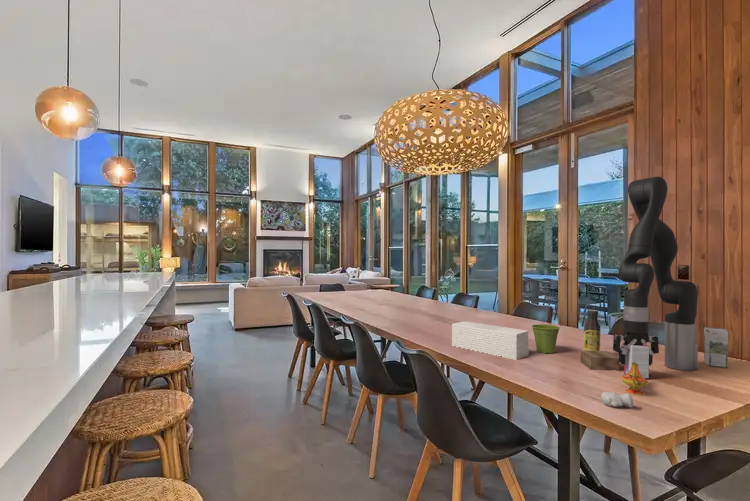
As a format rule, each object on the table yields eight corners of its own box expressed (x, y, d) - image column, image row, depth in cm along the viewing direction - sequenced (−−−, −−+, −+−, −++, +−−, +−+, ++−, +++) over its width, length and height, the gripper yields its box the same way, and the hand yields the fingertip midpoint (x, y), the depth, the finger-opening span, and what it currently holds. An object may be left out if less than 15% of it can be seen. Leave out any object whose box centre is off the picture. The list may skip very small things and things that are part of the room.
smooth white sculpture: (600, 409, 113) (601, 399, 117) (633, 415, 108) (633, 404, 112) (600, 397, 112) (600, 386, 116) (633, 402, 107) (633, 391, 111)
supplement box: (649, 379, 135) (649, 346, 135) (630, 378, 136) (630, 346, 136) (641, 374, 141) (641, 343, 141) (623, 373, 142) (623, 342, 142)
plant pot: (561, 350, 175) (561, 325, 175) (558, 356, 165) (558, 330, 165) (533, 347, 181) (533, 323, 181) (528, 352, 171) (528, 327, 171)
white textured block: (451, 346, 183) (451, 323, 183) (464, 343, 191) (464, 321, 191) (516, 360, 160) (516, 334, 160) (528, 355, 167) (528, 330, 167)
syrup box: (722, 364, 154) (722, 327, 154) (728, 368, 148) (728, 330, 148) (703, 362, 156) (703, 326, 156) (709, 366, 151) (709, 329, 151)
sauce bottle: (583, 358, 162) (583, 310, 162) (581, 354, 168) (581, 308, 168) (601, 360, 160) (601, 311, 160) (599, 356, 165) (599, 309, 166)
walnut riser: (607, 363, 155) (607, 351, 155) (619, 371, 145) (619, 358, 145) (580, 362, 157) (580, 350, 157) (590, 370, 147) (590, 357, 147)
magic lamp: (647, 384, 130) (647, 351, 130) (647, 401, 115) (647, 364, 115) (623, 380, 134) (623, 348, 134) (620, 396, 119) (620, 360, 119)
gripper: (650, 317, 142) (650, 362, 142) (609, 316, 143) (609, 361, 143) (663, 321, 134) (663, 368, 134) (620, 320, 136) (620, 367, 135)
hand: (635, 364), depth 139 cm, fingers open, 8 cm apart
